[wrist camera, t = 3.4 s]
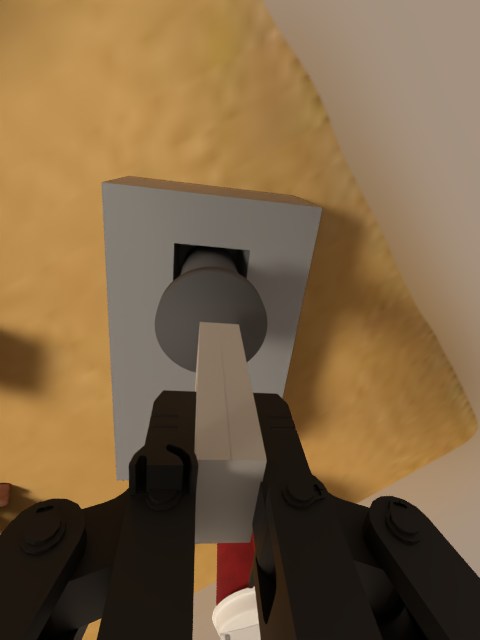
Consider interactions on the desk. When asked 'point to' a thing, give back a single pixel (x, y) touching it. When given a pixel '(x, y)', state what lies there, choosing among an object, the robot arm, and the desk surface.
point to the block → (165, 266)
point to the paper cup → (235, 593)
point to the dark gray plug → (208, 306)
